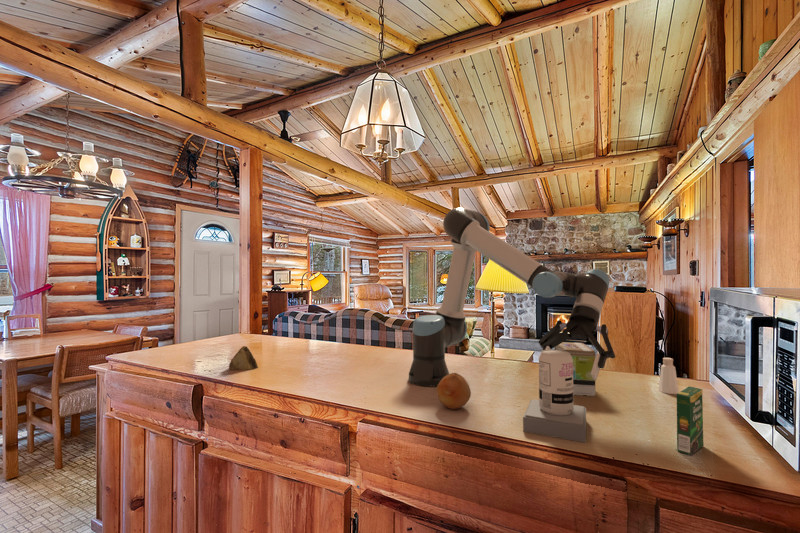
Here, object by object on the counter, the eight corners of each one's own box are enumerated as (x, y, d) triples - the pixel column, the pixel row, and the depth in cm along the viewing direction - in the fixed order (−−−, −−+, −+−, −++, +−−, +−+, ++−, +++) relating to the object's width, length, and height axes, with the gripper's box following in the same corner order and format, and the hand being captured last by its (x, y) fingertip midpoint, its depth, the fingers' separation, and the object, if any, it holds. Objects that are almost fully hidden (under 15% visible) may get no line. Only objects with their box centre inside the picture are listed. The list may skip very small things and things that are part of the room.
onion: (435, 401, 115) (435, 369, 115) (468, 401, 115) (467, 369, 115) (437, 413, 105) (437, 378, 105) (473, 414, 105) (472, 378, 105)
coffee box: (691, 457, 80) (690, 395, 80) (676, 451, 82) (675, 392, 82) (704, 446, 85) (703, 388, 85) (689, 442, 87) (688, 385, 87)
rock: (220, 364, 154) (235, 364, 148) (231, 346, 159) (245, 345, 153) (241, 375, 160) (255, 376, 155) (250, 357, 165) (264, 357, 160)
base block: (523, 431, 93) (523, 415, 93) (531, 412, 106) (531, 398, 106) (585, 442, 87) (585, 425, 87) (586, 421, 99) (586, 406, 99)
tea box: (597, 396, 119) (596, 350, 119) (563, 395, 121) (562, 349, 121) (583, 383, 133) (583, 341, 133) (553, 381, 135) (553, 340, 136)
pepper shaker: (657, 388, 127) (657, 355, 127) (677, 390, 124) (677, 357, 124) (659, 392, 122) (658, 359, 122) (679, 395, 119) (679, 361, 120)
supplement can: (543, 402, 102) (543, 347, 102) (576, 409, 97) (575, 351, 97) (535, 412, 95) (534, 353, 96) (570, 419, 91) (569, 357, 91)
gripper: (636, 324, 105) (621, 389, 94) (549, 316, 123) (528, 371, 112) (630, 306, 101) (614, 373, 90) (541, 301, 119) (519, 356, 108)
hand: (566, 372), depth 101 cm, fingers open, 13 cm apart
